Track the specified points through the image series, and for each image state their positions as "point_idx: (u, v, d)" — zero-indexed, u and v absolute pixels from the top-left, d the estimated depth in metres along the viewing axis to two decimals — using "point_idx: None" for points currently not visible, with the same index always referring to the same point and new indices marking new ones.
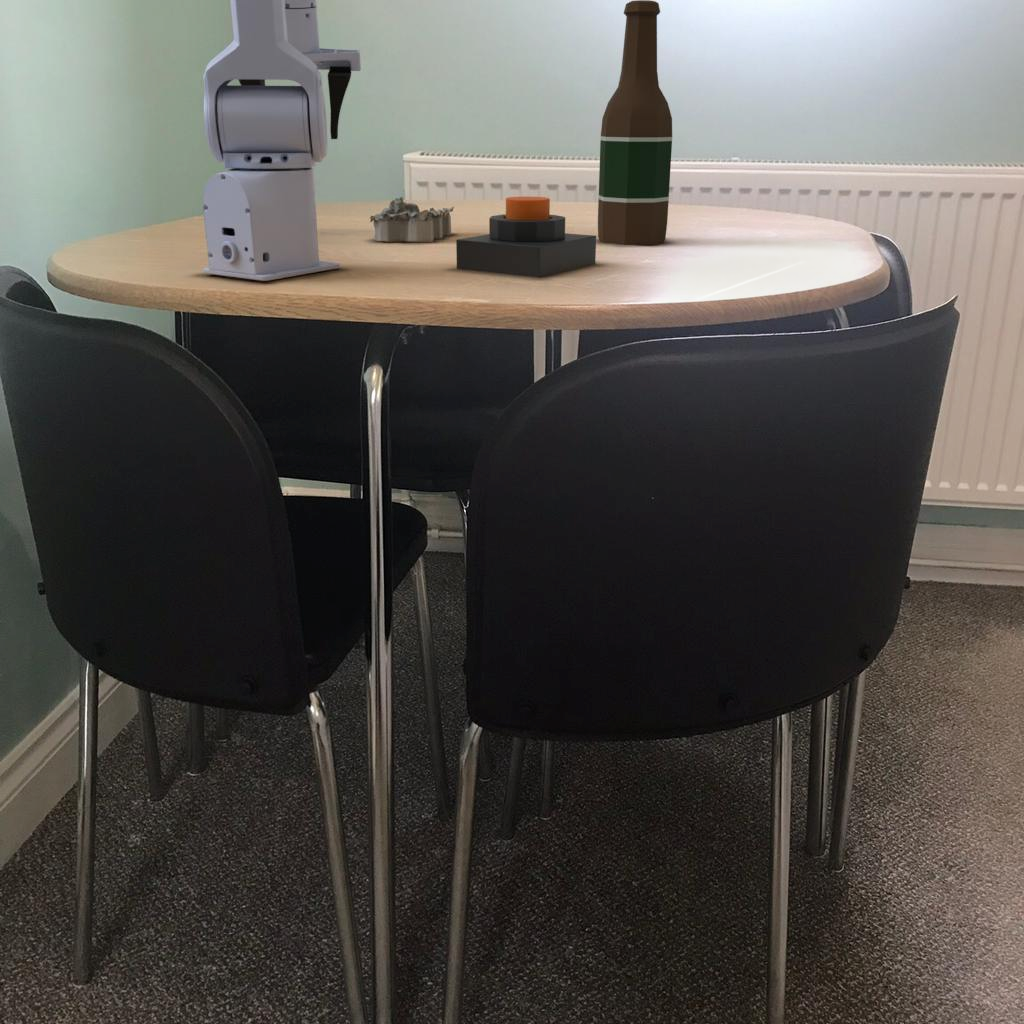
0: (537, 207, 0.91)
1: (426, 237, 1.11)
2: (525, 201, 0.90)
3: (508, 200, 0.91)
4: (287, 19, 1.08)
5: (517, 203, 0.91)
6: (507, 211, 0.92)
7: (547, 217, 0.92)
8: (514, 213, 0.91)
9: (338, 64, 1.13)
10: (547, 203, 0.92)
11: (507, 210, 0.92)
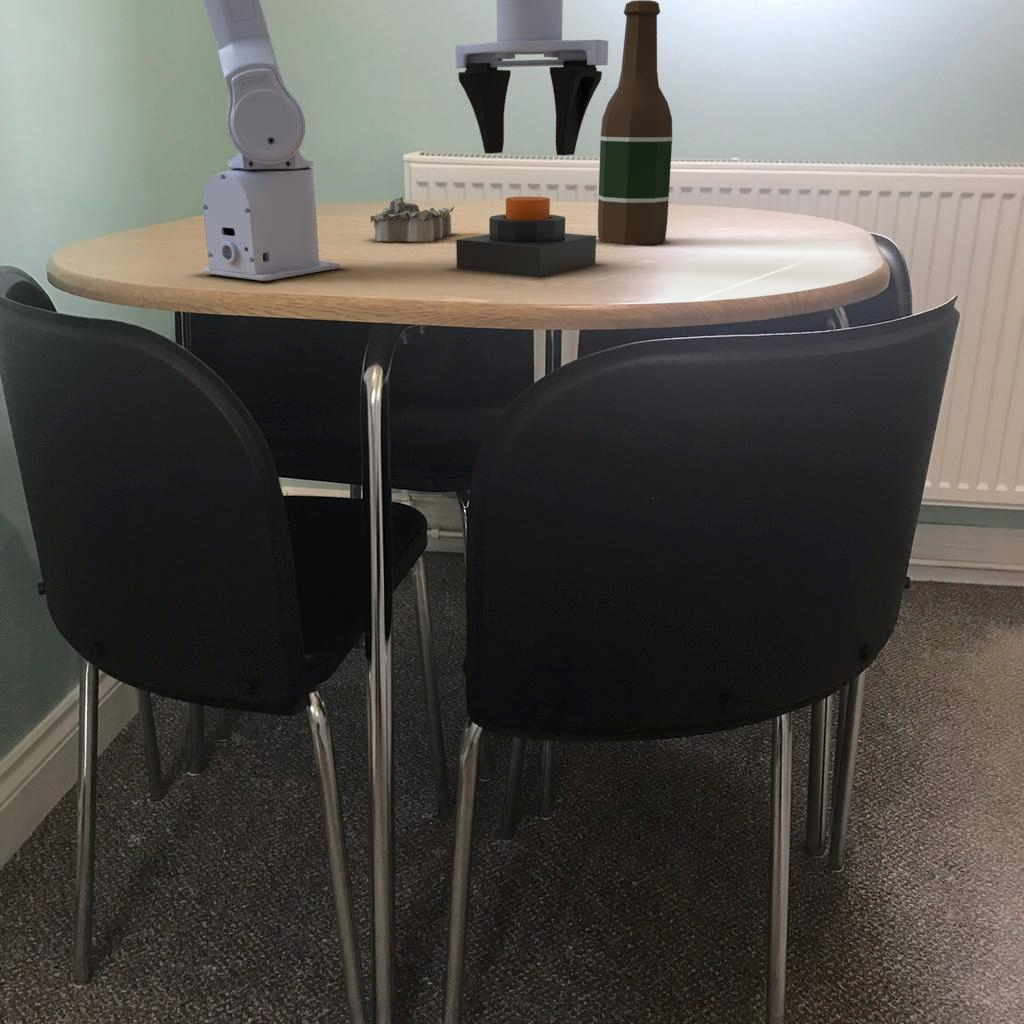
0: (537, 207, 0.91)
1: (426, 237, 1.11)
2: (525, 201, 0.90)
3: (508, 200, 0.91)
4: None
5: (517, 203, 0.91)
6: (507, 211, 0.92)
7: (547, 217, 0.92)
8: (514, 213, 0.91)
9: (575, 58, 0.87)
10: (547, 203, 0.92)
11: (507, 210, 0.92)
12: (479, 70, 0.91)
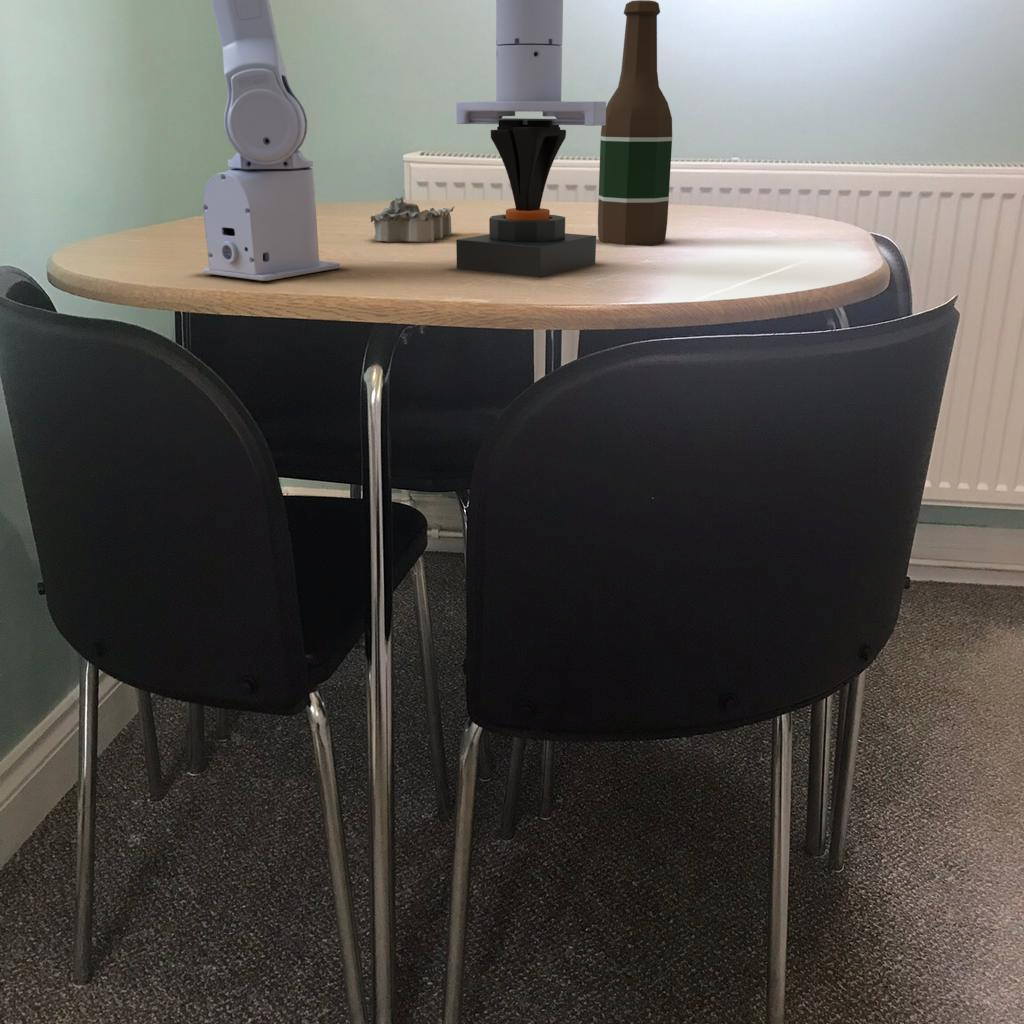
0: (537, 219, 0.91)
1: (426, 237, 1.11)
2: (525, 213, 0.91)
3: (508, 211, 0.92)
4: (509, 58, 0.86)
5: (516, 215, 0.91)
6: None
7: None
8: None
9: (574, 118, 0.87)
10: (547, 214, 0.92)
11: None
12: (511, 127, 0.90)
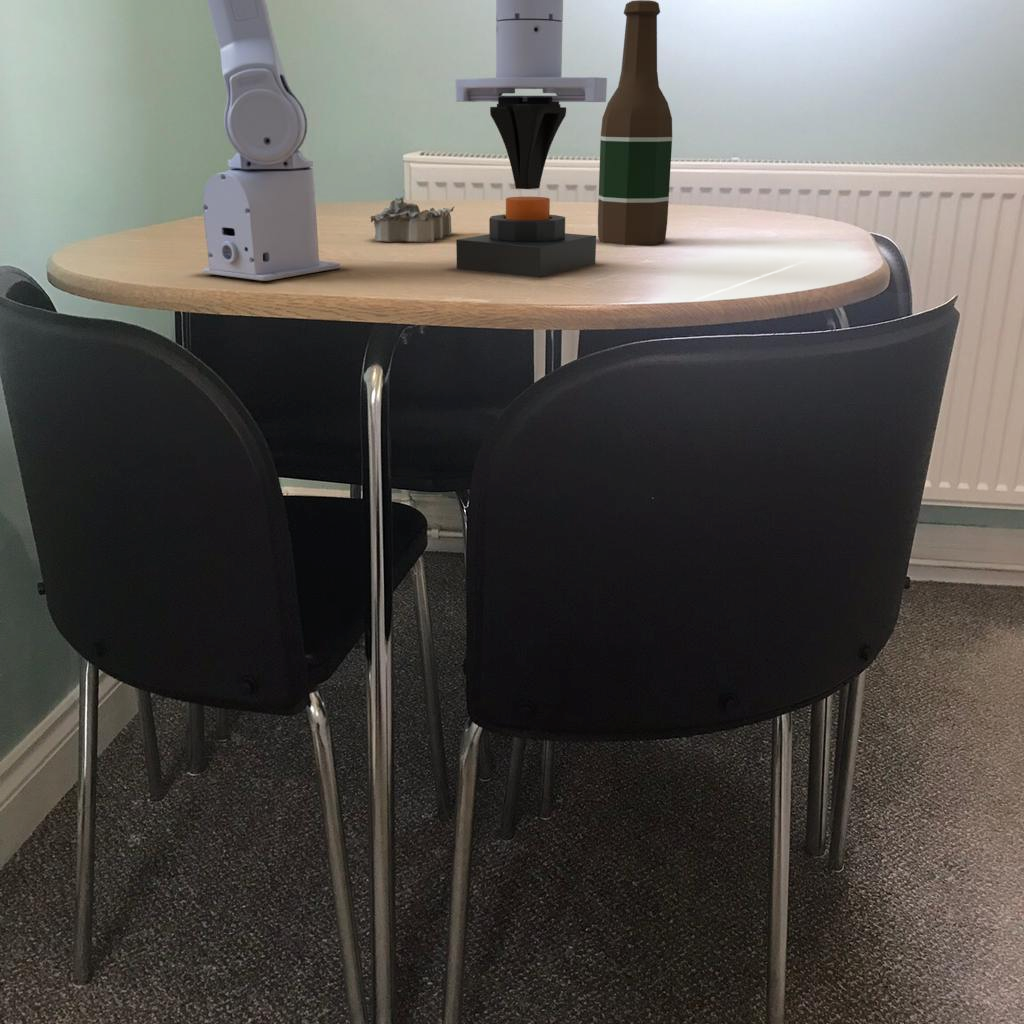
0: (537, 207, 0.91)
1: (427, 237, 1.11)
2: (525, 201, 0.90)
3: (508, 200, 0.91)
4: (509, 33, 0.85)
5: (517, 203, 0.91)
6: (507, 211, 0.92)
7: (547, 217, 0.92)
8: (514, 213, 0.91)
9: (574, 94, 0.86)
10: (547, 203, 0.92)
11: (507, 210, 0.92)
12: (511, 104, 0.89)
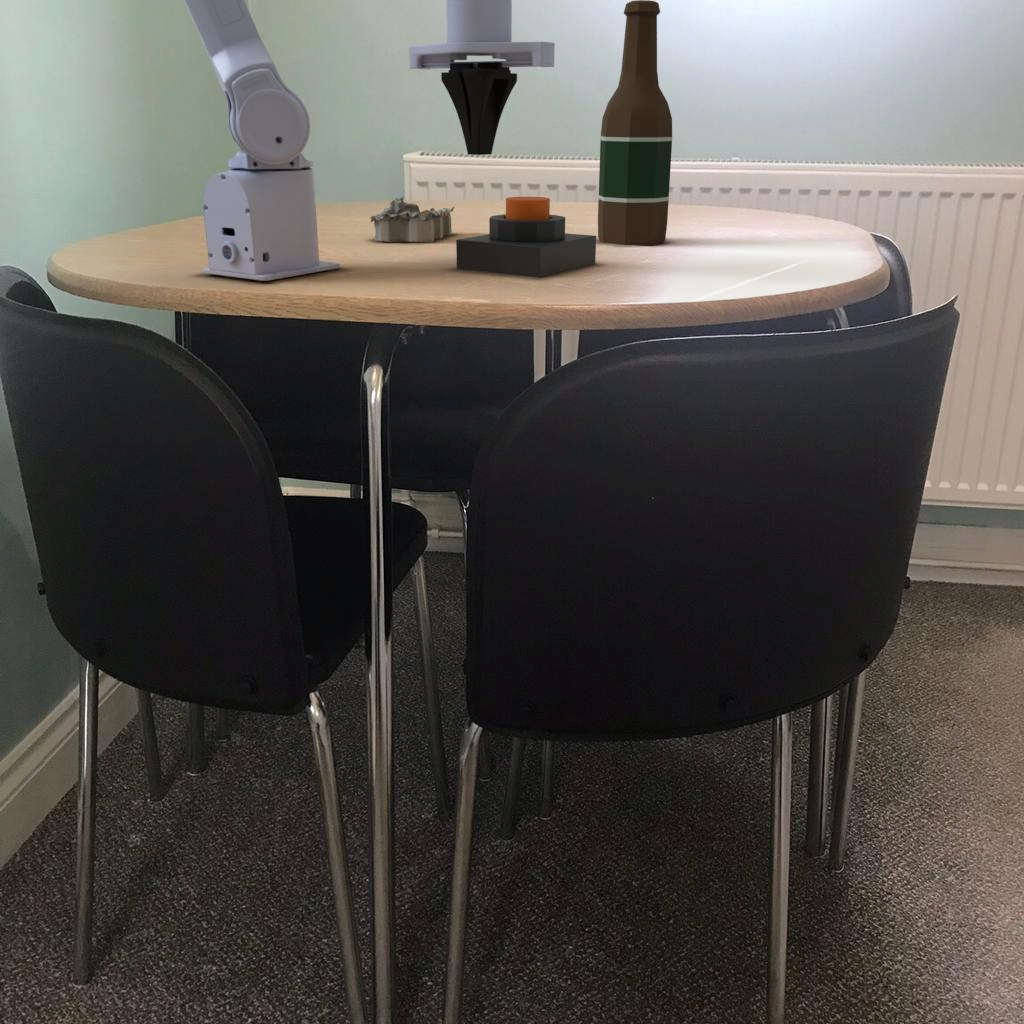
0: (537, 207, 0.91)
1: (427, 237, 1.11)
2: (525, 201, 0.90)
3: (508, 200, 0.91)
4: None
5: (517, 203, 0.91)
6: (507, 211, 0.92)
7: (547, 217, 0.92)
8: (514, 213, 0.91)
9: (522, 59, 0.87)
10: (547, 203, 0.92)
11: (507, 210, 0.92)
12: (462, 70, 0.90)
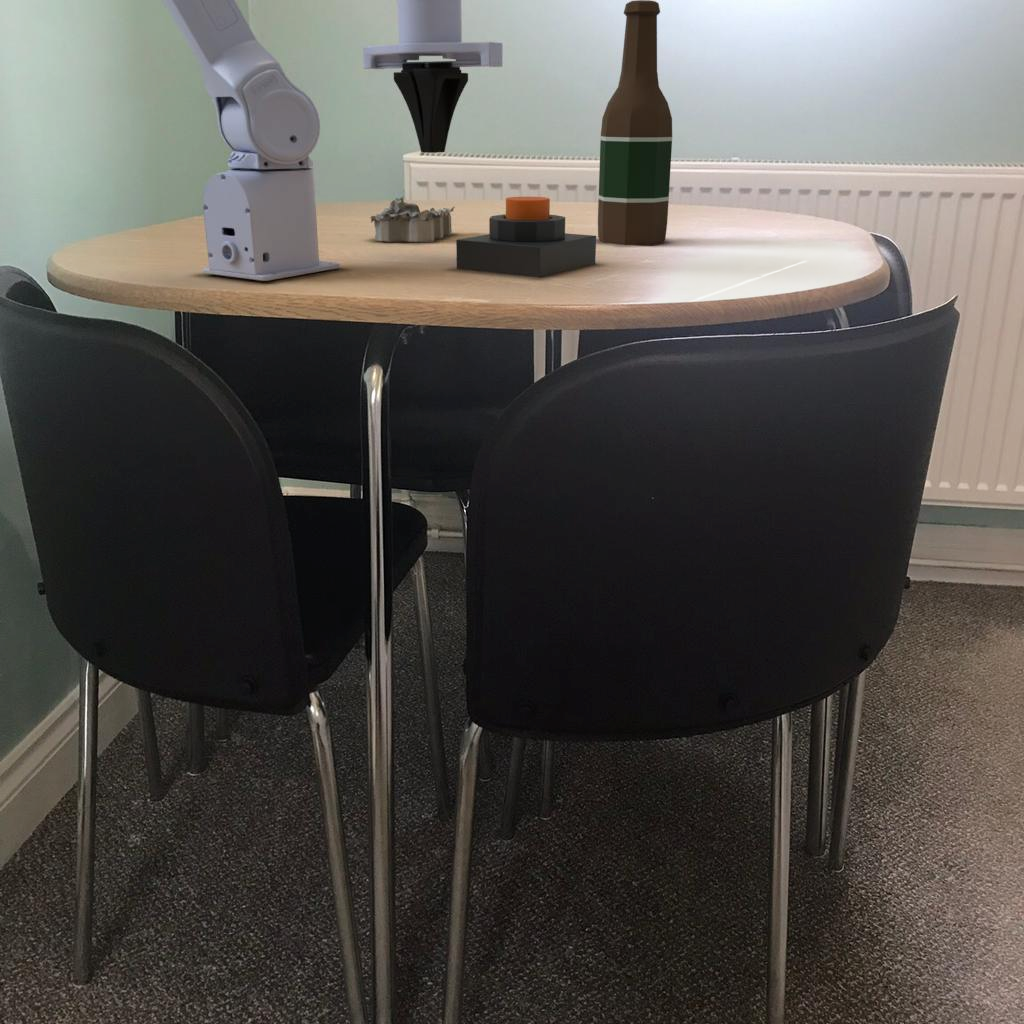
0: (537, 207, 0.91)
1: (427, 237, 1.11)
2: (525, 201, 0.90)
3: (508, 200, 0.91)
4: (408, 0, 0.88)
5: (517, 203, 0.91)
6: (507, 211, 0.92)
7: (547, 217, 0.92)
8: (514, 213, 0.91)
9: (471, 59, 0.90)
10: (547, 203, 0.92)
11: (507, 210, 0.92)
12: None
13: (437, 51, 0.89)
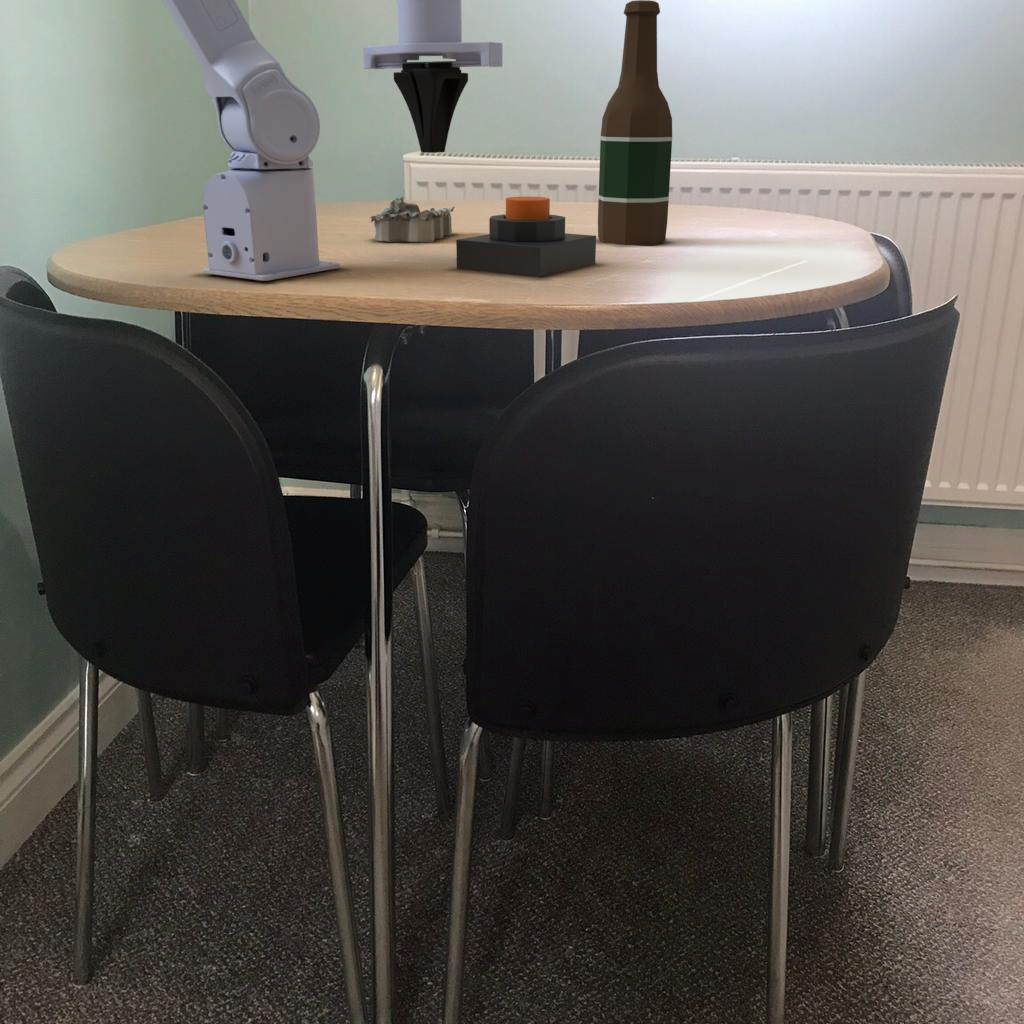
0: (537, 207, 0.91)
1: (427, 237, 1.11)
2: (525, 201, 0.90)
3: (508, 200, 0.91)
4: (408, 0, 0.88)
5: (517, 203, 0.91)
6: (507, 211, 0.92)
7: (547, 217, 0.92)
8: (514, 213, 0.91)
9: (471, 59, 0.90)
10: (547, 203, 0.92)
11: (507, 210, 0.92)
12: None
13: (437, 51, 0.89)
